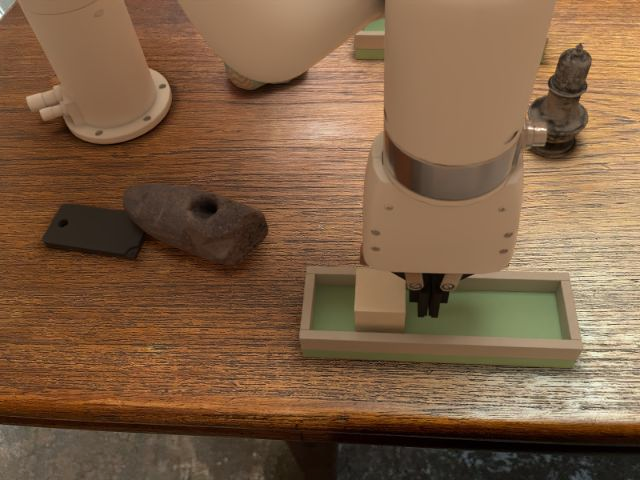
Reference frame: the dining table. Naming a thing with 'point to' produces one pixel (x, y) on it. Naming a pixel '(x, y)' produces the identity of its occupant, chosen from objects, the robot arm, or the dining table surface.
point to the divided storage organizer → (450, 322)
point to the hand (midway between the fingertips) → (427, 301)
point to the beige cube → (379, 302)
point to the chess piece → (563, 104)
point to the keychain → (95, 231)
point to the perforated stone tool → (196, 221)
